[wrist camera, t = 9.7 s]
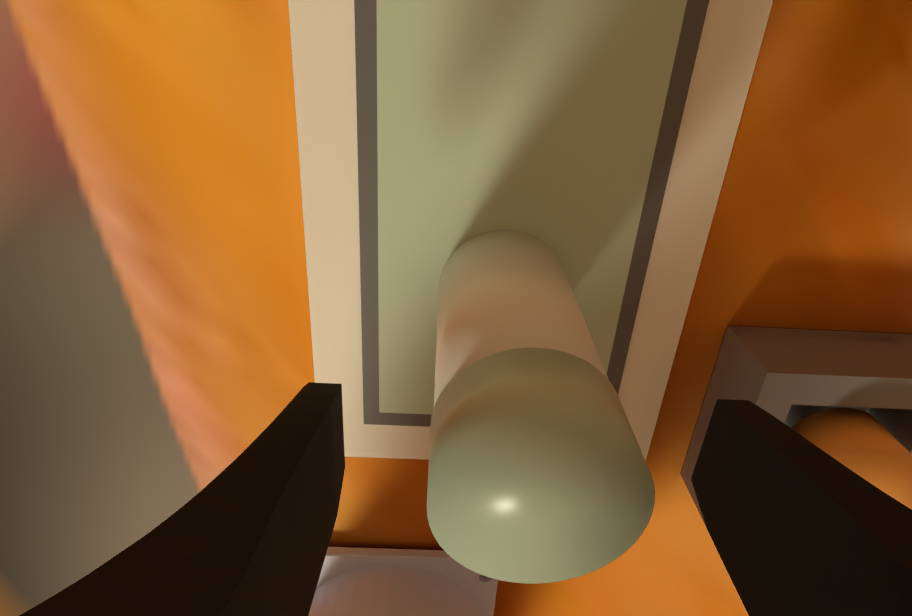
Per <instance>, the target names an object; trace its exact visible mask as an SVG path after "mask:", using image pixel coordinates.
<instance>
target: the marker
mask: <svg viewBox="0 0 912 616" xmlns="http://www.w3.org/2000/svg"><path fill="white" fill-rule="evenodd" d="M654 500H655V490H654V484H653V480H652V477H651V474H650V471H649V469H648V466H647V464H646V461H645V459H644V457H643V454H642V452H641V449H640V447H639V445H638V442H637V440H636V437H635V435H634V433H633V430H632V428H631V425H630V423H629V421H628V418H627V416H626V413H625V411H624V409H623V406H622V404H621V401H620V399H619V397H618V394H617V392H616V390H615V389H614V387H613V385H612V384H611V382H610V381H609V379H608V377H607V375H606V372H605V370H604V367H603V365H602V362H601V360H600V357H599V355H598V352H597V350H596V348H595V345H594V343H593V340H592V338H591V335H590V333H589V330H588V328H587V326H586V323H585V321H584V318H583V316H582V313H581V311H580V308H579V306H578V304H577V301H576V299H575V296H574V294H573V291H572V289H571V286H570V284H569V282H568V279H567V277H566V274H565V272H564V269H563V267H562V264H561V262H560V261H559V259H558V257H557V256H556V254H555V253H554V252H553V250H552V249H551V248H550V247H549V246H548V245H547V244H545V243H544V242H542V241H541V240H540V239H538V238H536V237H534V236H532V235H529V234H527V233H523V232H519V231H513V230H496V231H490V232H486V233H482V234H480V235H477V236H475V237H473V238H471V239H469V240H467V241H466V242H465V243H463V244H462V245H460V246H459V247H458V248H457V249H456V250H455V251H454V252H453V253H452V255H451V256H450V257H449V258H448V260H447V262H446V263H445V265H444V268H443V270H442V272H441V276H440V280H439V293H438V317H437V341H436V365H435V390H434V409H433V412H432V417H431V424H430V445H429V466H428V487H427V518H428V522H429V526H430V529H431V531H432V533H433V536H434V537H435V539H436V540H437V542H438V544H439V545H440V546H441V547H442V549H443V550H444V551H445V552H446V553H447V554H448V555H449V556H450V557H452V558H453V559H454V560H455V561H457V562H458V563H460V564H461V565H463V566H464V567H466V568H468V569H470V570H472V571H474V572H476V573H478V574H481V575H484V576H486V577H489V578H493V579H497V580H501V581H507V582H513V583H526V584H536V583H550V582H558V581H563V580H568V579H572V578H575V577H579V576H582V575H585V574H588V573H590V572H593V571H595V570H597V569H599V568H601V567H603V566H605V565H607V564H609V563H610V562H612V561H614V560H615V559H617V558H618V557H619V556H621V555H622V554H623V553H624V552H626V551H627V550H628V549H629V548H630V547H631V546H632V545H633V544H634V543H635V542H636V541H637V539H638V538H639V537H640V536H641V534H642V533H643V531H644V530H645V528H646V526H647V525H648V522H649V520H650V517H651V515H652V512H653V507H654Z"/></svg>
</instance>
